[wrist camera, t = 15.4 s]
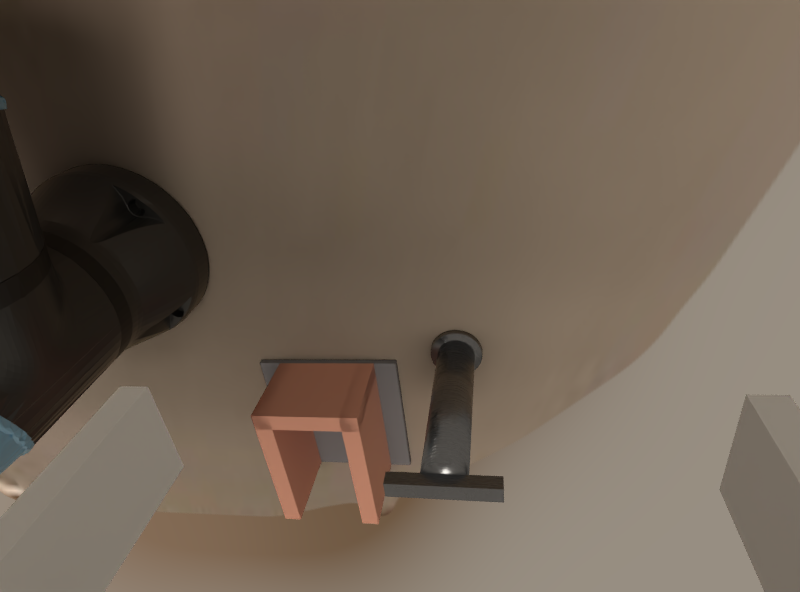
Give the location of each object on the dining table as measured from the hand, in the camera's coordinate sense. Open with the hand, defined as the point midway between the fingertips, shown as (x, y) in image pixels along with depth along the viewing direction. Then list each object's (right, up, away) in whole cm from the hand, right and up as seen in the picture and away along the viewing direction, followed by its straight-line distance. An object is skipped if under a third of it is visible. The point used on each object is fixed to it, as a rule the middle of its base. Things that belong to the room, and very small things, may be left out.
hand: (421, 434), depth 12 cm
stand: (+5, -2, +34) cm, 34 cm away
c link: (-7, -9, +40) cm, 41 cm away
